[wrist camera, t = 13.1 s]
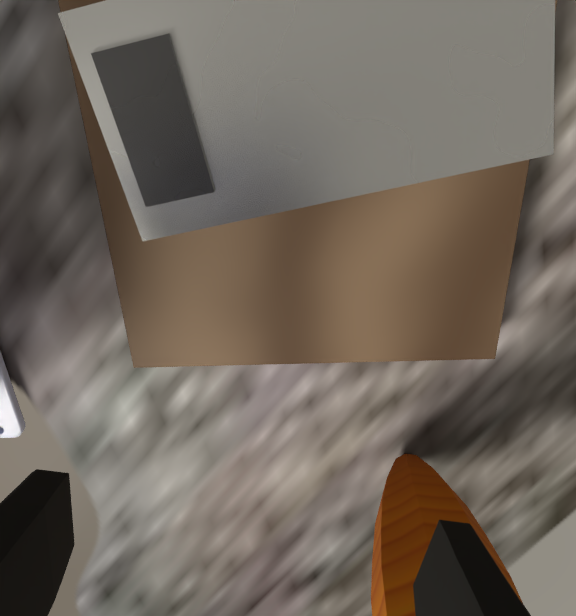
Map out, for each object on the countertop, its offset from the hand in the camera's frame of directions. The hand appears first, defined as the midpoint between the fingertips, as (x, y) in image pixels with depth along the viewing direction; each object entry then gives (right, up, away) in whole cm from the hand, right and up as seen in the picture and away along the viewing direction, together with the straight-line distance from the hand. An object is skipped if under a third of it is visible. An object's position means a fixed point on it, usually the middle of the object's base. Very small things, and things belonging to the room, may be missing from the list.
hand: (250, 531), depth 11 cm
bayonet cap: (+1, +11, +4) cm, 12 cm away
